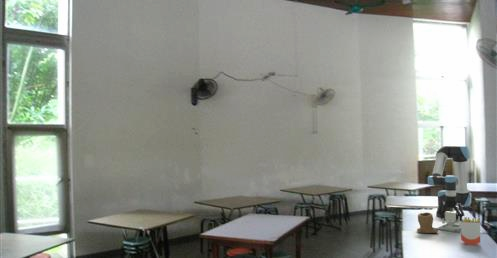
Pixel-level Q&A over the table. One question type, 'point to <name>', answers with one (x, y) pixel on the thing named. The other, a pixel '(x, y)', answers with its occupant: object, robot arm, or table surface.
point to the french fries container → (470, 231)
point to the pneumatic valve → (450, 217)
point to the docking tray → (450, 228)
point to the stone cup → (426, 223)
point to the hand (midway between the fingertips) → (451, 224)
